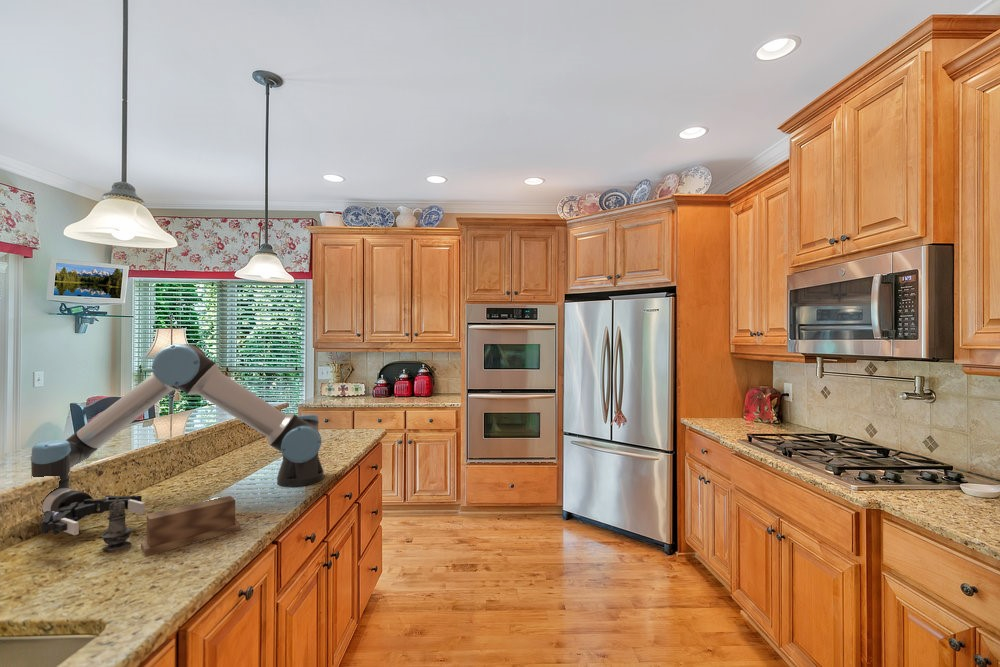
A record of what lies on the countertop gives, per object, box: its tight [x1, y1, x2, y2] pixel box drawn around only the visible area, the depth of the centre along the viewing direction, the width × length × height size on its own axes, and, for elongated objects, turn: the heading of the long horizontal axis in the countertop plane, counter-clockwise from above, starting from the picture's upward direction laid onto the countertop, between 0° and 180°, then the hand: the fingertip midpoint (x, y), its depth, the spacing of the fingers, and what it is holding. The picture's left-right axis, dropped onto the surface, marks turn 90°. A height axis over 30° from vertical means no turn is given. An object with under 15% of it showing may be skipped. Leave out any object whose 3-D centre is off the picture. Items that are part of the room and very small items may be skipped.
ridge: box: [140, 495, 241, 557], centre depth 115 cm, size 20×6×8 cm, turn 135°
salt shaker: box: [100, 497, 134, 553], centre depth 111 cm, size 6×6×12 cm
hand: (112, 518), depth 112 cm, fingers open, 13 cm apart
